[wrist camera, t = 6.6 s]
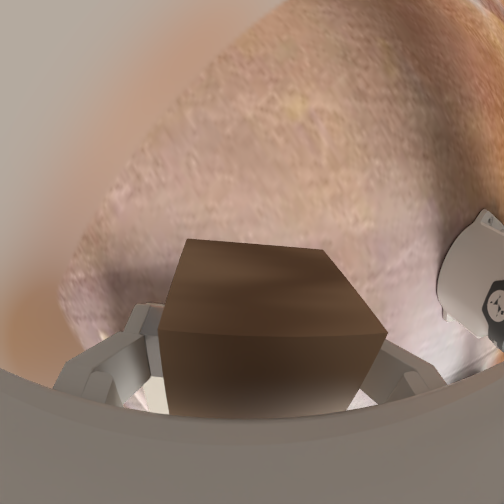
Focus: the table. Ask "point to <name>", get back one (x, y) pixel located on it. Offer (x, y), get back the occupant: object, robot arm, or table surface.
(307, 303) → the walnut cube
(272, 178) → the table surface
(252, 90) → the table surface
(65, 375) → the robot arm
